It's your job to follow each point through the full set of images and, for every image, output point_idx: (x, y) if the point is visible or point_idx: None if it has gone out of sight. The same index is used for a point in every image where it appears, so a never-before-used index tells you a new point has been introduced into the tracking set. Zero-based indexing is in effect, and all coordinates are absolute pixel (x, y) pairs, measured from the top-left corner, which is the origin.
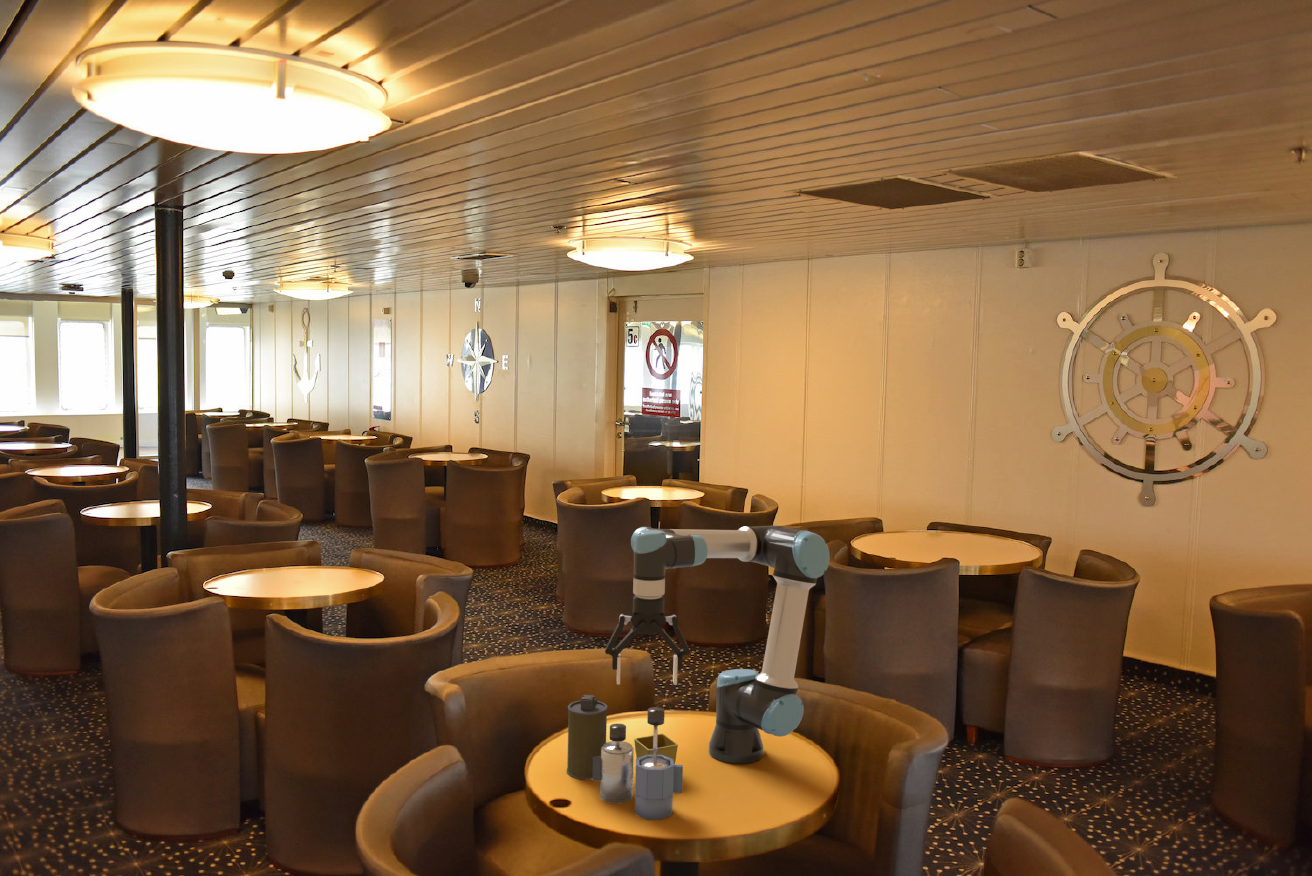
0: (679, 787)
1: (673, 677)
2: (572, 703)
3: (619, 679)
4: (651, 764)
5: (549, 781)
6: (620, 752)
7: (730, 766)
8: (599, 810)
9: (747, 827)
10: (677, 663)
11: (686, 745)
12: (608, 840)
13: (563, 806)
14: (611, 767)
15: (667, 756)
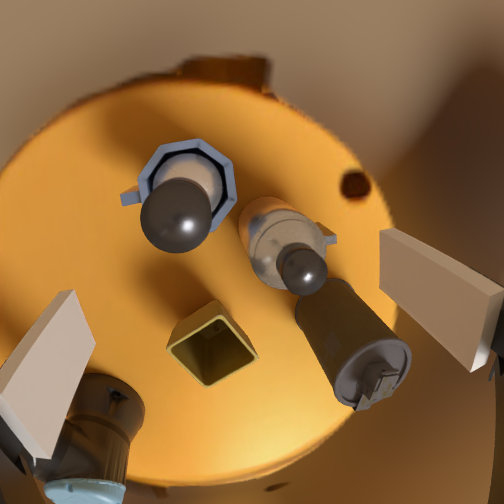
0: (136, 186)
1: (77, 338)
2: (401, 379)
3: (397, 238)
4: (194, 180)
5: (377, 260)
6: (280, 222)
7: (100, 365)
8: (289, 165)
9: (37, 155)
10: (3, 366)
11: (181, 416)
12: (258, 60)
13: (349, 172)
14: (290, 209)
15: (185, 327)
